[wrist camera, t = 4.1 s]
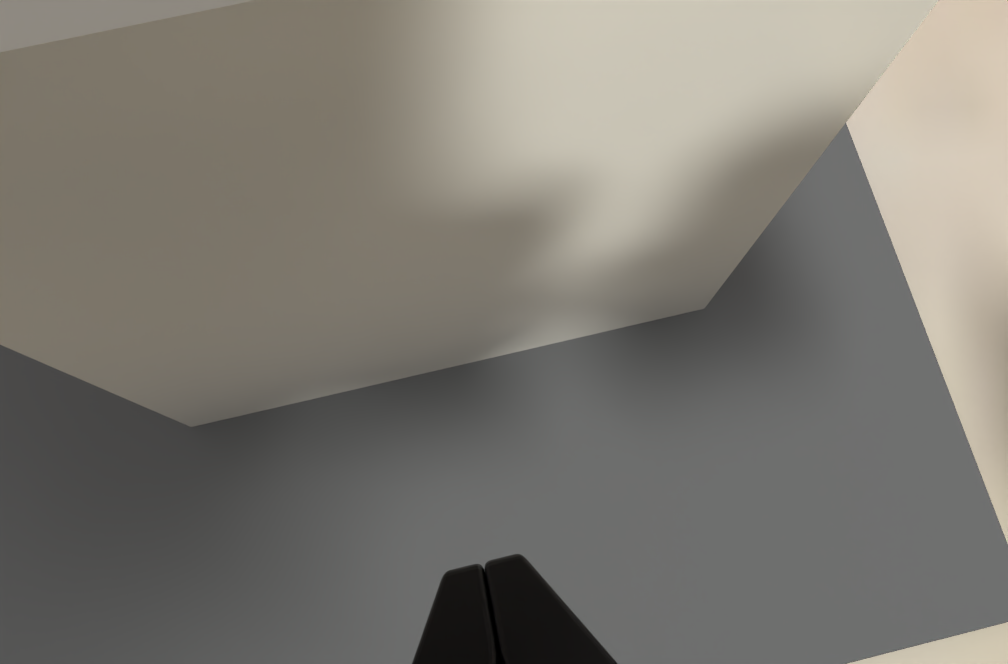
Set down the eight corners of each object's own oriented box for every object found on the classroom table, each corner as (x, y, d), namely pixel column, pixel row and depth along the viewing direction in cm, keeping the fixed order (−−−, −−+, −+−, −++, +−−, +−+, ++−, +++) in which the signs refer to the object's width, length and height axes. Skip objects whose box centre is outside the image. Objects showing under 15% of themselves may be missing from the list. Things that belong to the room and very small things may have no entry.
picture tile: (704, 308, 16) (1064, -164, 6) (191, 427, 16) (-461, 146, 5) (667, 191, 17) (929, -429, 6) (173, 300, 16) (-436, -178, 6)
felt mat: (1024, 614, 15) (1035, 615, 15) (12, 873, 14) (2, 881, 14) (676, -300, 21) (679, -313, 21) (-61, -161, 20) (-69, -172, 20)
